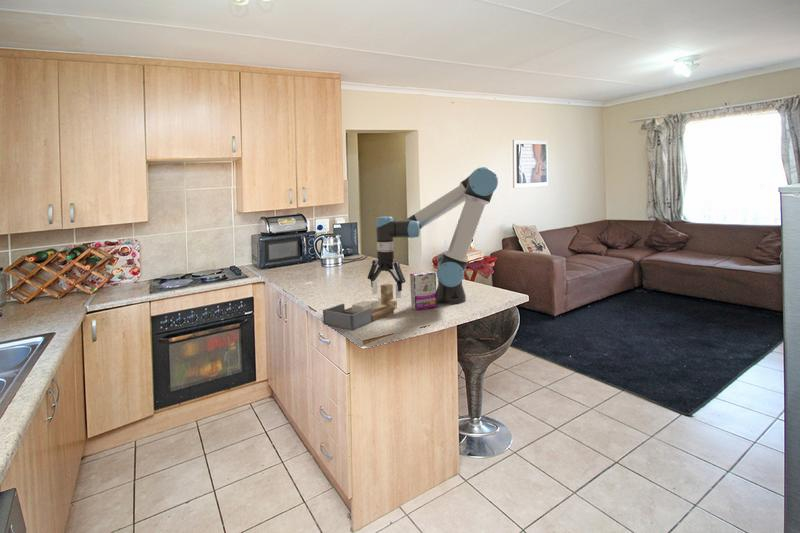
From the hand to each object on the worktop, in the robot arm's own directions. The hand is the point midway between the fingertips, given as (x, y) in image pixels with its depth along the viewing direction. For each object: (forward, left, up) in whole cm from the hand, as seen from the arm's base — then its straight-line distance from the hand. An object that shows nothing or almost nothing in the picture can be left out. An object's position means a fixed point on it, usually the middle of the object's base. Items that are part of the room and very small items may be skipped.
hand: (386, 296), depth 201 cm
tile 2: (0, +11, -3) cm, 12 cm away
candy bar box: (-15, -8, -6) cm, 18 cm away
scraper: (0, 0, -6) cm, 6 cm away
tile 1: (0, +18, -3) cm, 18 cm away
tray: (0, +27, -6) cm, 28 cm away
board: (0, +13, -6) cm, 14 cm away
